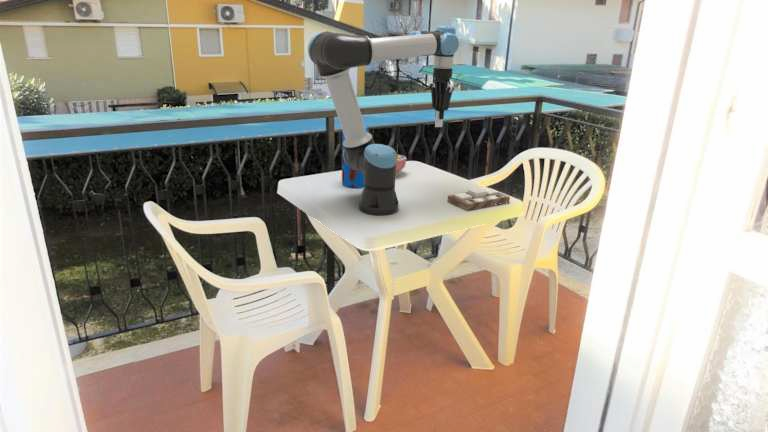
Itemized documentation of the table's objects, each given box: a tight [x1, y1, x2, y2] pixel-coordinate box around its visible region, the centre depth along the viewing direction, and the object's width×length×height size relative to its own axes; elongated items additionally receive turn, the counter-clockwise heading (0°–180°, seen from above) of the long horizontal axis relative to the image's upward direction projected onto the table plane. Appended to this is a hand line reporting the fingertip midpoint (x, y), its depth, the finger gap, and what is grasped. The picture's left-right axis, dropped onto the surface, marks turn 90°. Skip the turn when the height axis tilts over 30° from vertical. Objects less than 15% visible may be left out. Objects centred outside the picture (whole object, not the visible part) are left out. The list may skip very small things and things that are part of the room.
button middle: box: [467, 187, 486, 198], centre depth 211 cm, size 5×5×2 cm
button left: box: [453, 192, 472, 201], centre depth 208 cm, size 5×5×2 cm
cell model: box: [396, 153, 407, 174], centre depth 241 cm, size 17×20×11 cm
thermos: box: [341, 124, 370, 189], centre depth 222 cm, size 11×11×25 cm
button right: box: [482, 187, 500, 196], centre depth 215 cm, size 5×5×2 cm
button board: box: [446, 191, 511, 212], centre depth 211 cm, size 22×12×3 cm, turn 122°
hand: (438, 126), depth 217 cm, fingers closed
